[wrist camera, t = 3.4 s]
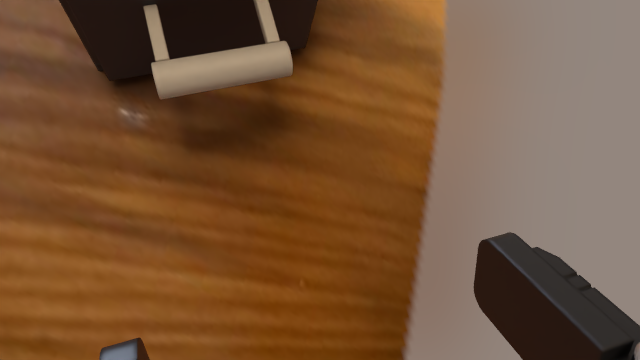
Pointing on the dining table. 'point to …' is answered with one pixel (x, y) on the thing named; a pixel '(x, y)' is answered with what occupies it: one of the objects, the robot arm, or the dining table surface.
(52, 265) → the dining table surface
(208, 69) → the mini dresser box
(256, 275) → the dining table surface
